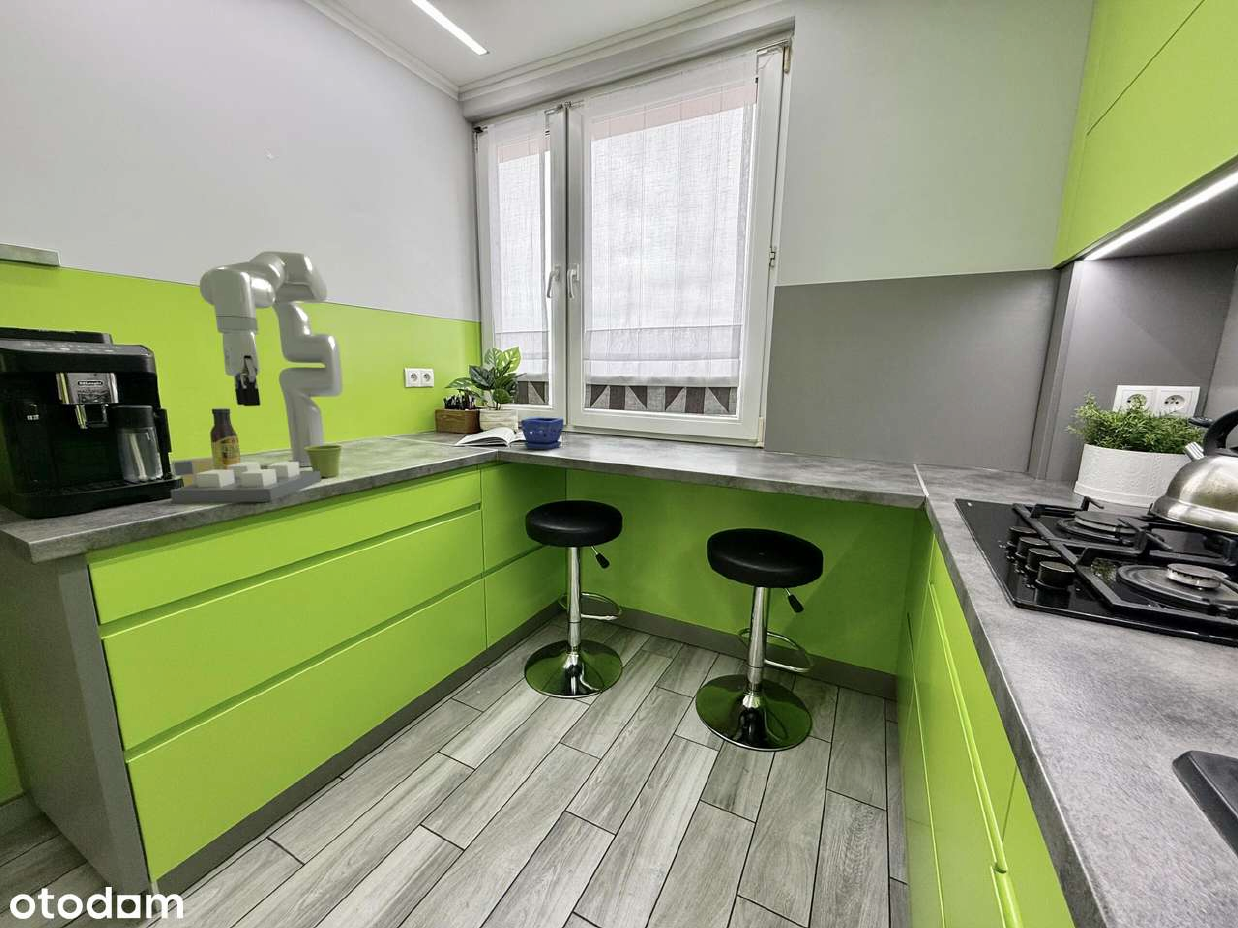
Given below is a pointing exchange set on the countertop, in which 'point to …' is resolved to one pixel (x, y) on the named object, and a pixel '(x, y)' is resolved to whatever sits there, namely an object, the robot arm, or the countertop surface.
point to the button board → (245, 490)
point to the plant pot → (325, 459)
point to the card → (191, 468)
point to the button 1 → (215, 478)
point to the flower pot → (542, 432)
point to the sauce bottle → (223, 440)
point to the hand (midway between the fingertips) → (248, 404)
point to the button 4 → (285, 469)
